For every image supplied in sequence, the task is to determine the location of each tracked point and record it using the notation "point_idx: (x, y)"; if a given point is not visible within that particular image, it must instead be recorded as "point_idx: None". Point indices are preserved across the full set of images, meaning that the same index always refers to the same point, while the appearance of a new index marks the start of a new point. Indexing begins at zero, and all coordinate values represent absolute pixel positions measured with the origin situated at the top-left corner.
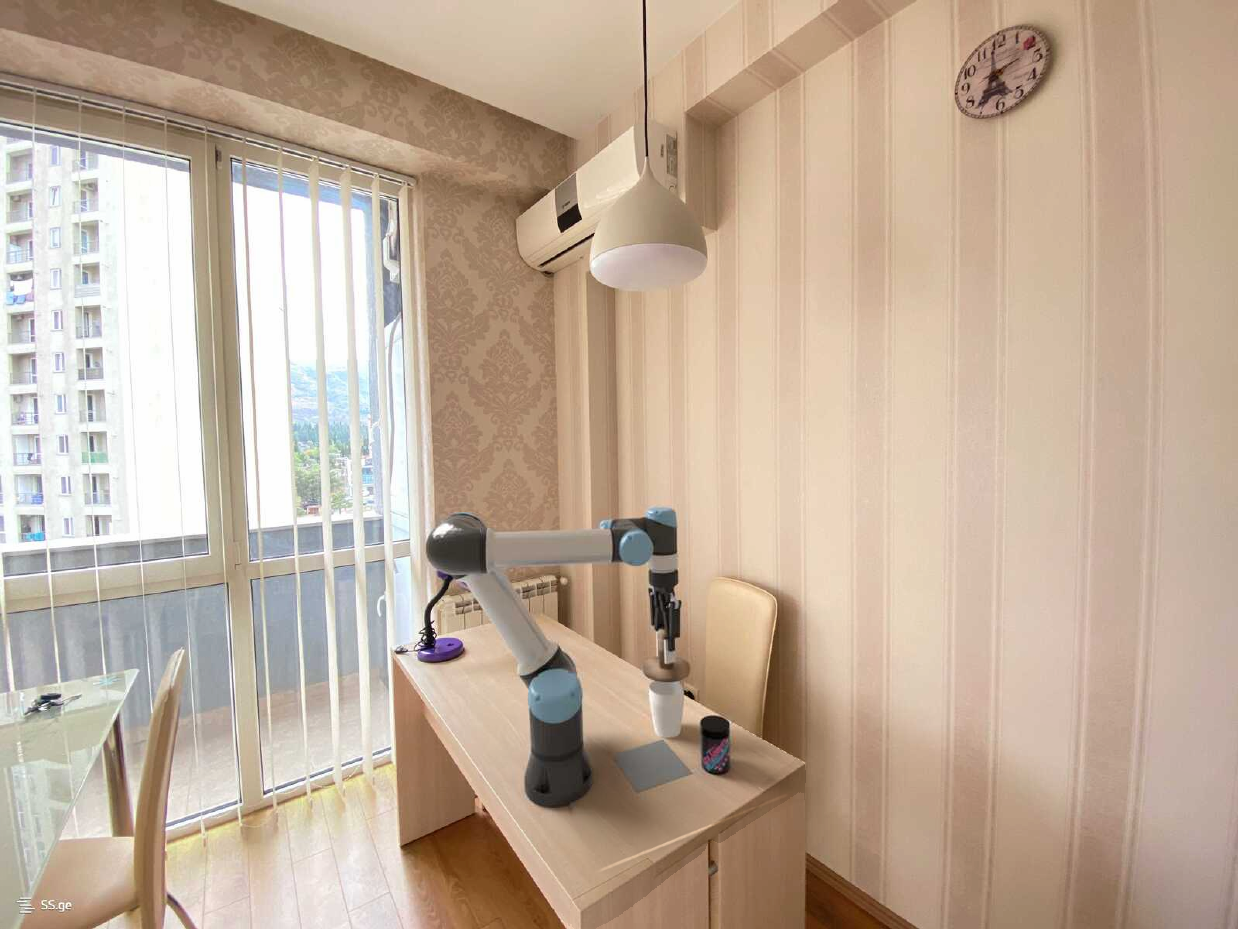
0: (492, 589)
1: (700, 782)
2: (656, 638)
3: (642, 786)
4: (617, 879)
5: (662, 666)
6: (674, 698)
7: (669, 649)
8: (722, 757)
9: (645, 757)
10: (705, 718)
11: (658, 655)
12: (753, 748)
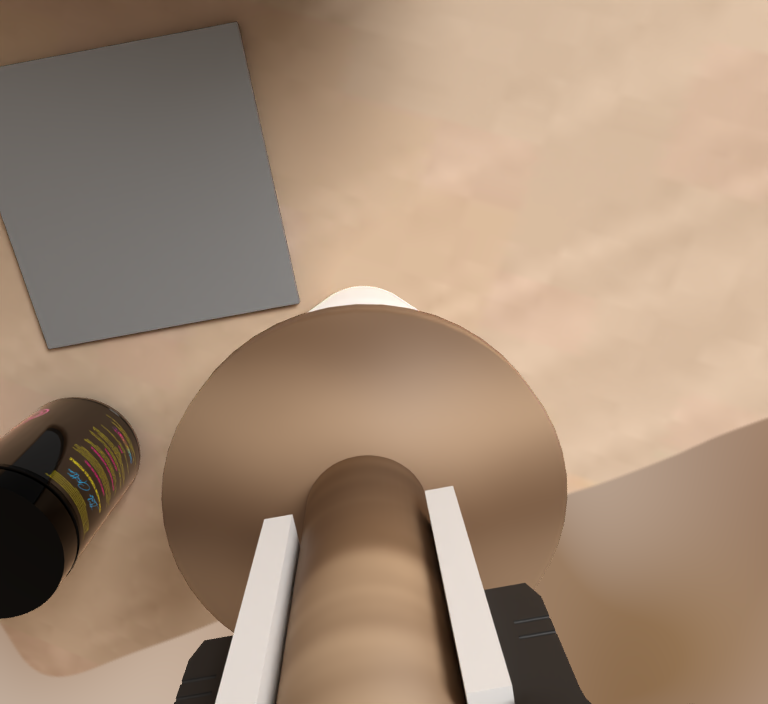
0: None
1: (5, 359)
2: (478, 615)
3: None
4: None
5: (328, 479)
6: None
7: (209, 658)
8: None
9: (186, 185)
10: (38, 526)
11: (428, 505)
12: (171, 610)
